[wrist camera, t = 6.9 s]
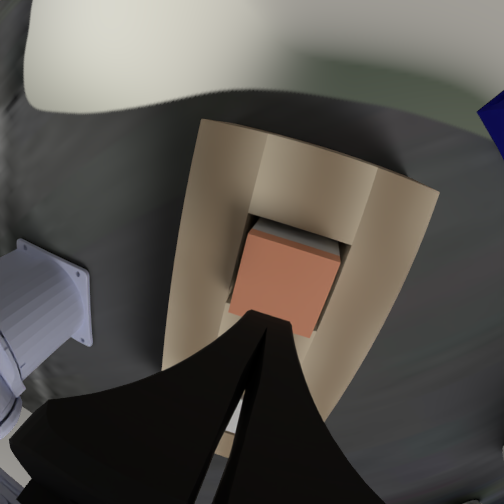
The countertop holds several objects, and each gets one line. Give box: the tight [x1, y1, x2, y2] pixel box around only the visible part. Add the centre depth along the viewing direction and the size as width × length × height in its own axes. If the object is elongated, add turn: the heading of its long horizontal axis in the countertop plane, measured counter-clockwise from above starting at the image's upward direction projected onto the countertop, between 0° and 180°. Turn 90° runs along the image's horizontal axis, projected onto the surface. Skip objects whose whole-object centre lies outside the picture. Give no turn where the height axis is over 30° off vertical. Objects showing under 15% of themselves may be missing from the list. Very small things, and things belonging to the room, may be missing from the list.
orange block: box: [228, 217, 341, 338], centre depth 14 cm, size 4×4×5 cm
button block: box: [162, 119, 440, 458], centre depth 18 cm, size 10×21×5 cm, turn 167°
